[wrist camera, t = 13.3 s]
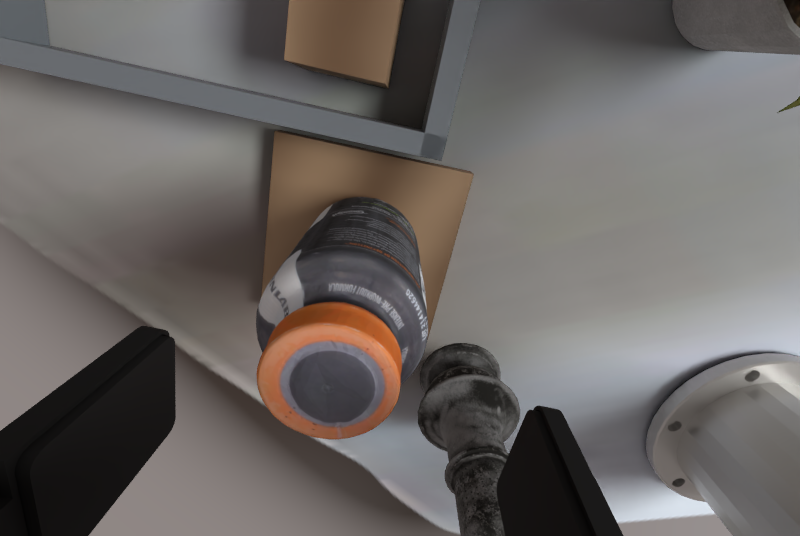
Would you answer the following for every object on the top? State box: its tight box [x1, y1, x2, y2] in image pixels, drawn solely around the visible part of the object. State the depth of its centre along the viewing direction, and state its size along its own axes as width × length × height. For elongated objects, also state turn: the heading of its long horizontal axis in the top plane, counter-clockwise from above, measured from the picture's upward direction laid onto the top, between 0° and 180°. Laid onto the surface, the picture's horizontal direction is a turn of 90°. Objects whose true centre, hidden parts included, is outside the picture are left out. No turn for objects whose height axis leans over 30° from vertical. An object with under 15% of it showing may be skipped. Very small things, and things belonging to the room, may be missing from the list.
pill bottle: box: [256, 197, 428, 439], centre depth 16 cm, size 6×6×11 cm
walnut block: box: [284, 0, 405, 89], centre depth 16 cm, size 4×4×4 cm
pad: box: [261, 130, 474, 340], centre depth 21 cm, size 10×10×1 cm
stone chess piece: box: [418, 343, 520, 536], centre depth 20 cm, size 6×6×12 cm
